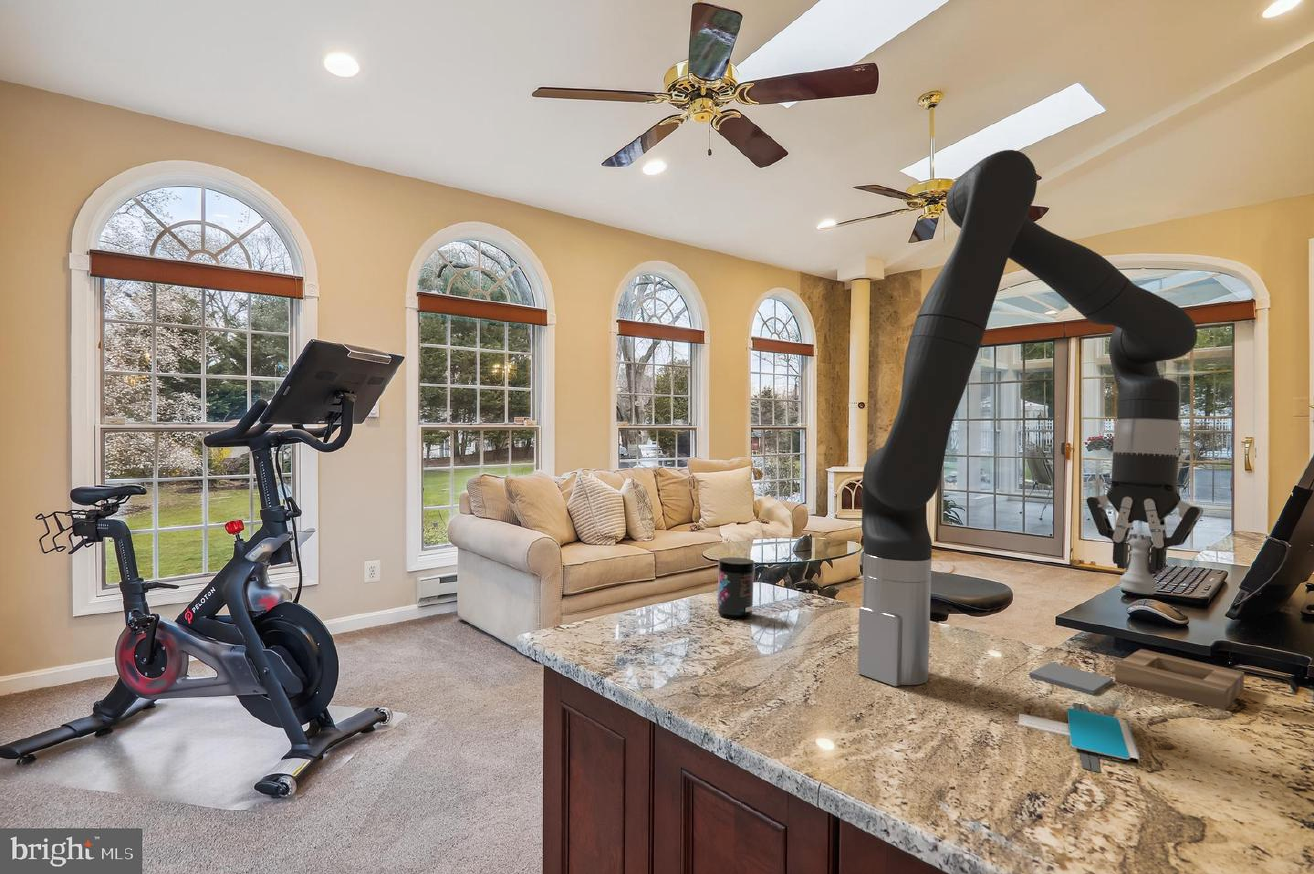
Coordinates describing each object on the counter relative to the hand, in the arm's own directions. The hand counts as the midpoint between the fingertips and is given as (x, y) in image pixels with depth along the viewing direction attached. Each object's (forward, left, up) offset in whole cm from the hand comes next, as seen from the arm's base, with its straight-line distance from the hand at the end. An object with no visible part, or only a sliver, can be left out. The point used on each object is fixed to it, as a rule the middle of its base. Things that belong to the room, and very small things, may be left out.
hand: (1138, 570), depth 91 cm
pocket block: (+4, -4, -16) cm, 17 cm away
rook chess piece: (0, 0, -3) cm, 3 cm away
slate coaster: (-7, +6, -16) cm, 19 cm away
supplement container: (-24, +57, -16) cm, 64 cm away
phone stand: (-26, -1, -17) cm, 31 cm away
